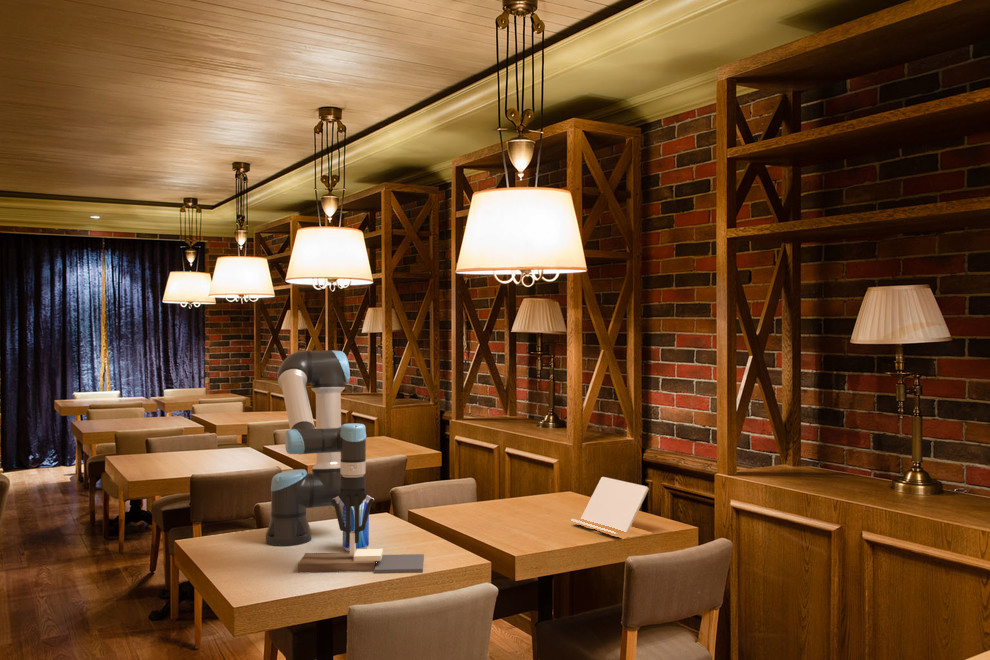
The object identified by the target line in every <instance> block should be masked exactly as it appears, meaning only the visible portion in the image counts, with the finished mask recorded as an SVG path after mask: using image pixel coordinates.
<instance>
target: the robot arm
mask: <svg viewBox="0 0 990 660" xmlns="http://www.w3.org/2000/svg"><path fill="white" fill-rule="evenodd" d="M350 376H351V372H350V365H349V360H348V357H347V355H346V353H345V352H343V351H341V350H332V349H330V350H327V349H325V350H298V351H295V352H293V353H291V354H290V355H288V356H286V358H285V359H284V360H283V361H282V362H281V364H280V366H279V368H278V371H277V377H276V378H277V384H278V387H279V388H280V389H281V390H282V393H283V394H282V395H283V399H284V400H283V401H284V405H285V411H286V416H287V419H288V425H289V429H287V430H286V432H285V435H284V436H285V437H284V444H285V451H286V453H287V454H289V455H310V454H316V463H315V464H314V465H313V466H312V470H311V473H308V472H307V470H306V469H304V468H303V469H302V468H300V469H299V468H298V469H289V470H285V471H280V472H279V473H276V474H275V475H273V477H272V479H271V485H270V486H271V487H270V491H271V495H270V497H271V500H270V501H271V502H270V503H271V504H270V521H269V524H268V527H267V531H266V533H265V543H266V544H268V545H269V546H270V545H271V546H277V547H278V546H279V547H280V546H281V547H283V546H285V547H286V546H296V545H302V544H305V543H309V542H310V541H311V540H312V530H311V527H310V526H311V525H310V524H309V521H308V517H307V509H312V508H322V507H323V508H324V507H325V508H326V507H334V509H335V515H336V519H337V522H338V528H339V530H340V531H341V532H343V531H344V532H346V543H350V555H354V554H355V552H356V543H358V542H359V532H360V531H363V530H364V529H365V527H366V523H367V519H368V515H369V516H370V510H371V506H372V505H373V503H374V502H375V498H374V497H371V496H370V495H368V491H367V490H366V476H365V475H366V468H367V464H366V463H367V461H366V460H367V459H366V457H367V456H366V455H367V453H366V451H367V450H366V449H367V433H366V432H367V430H366V425H365V424H364V423H352V422H351V423H344V424H342V410H341V409H342V401H341V400H342V398H341V397H342V395H341V394H342V393H343V391H344V390H345V389H346V384H348V383H349V382H350V378H351V377H350ZM306 385H310V388H311V391H312V392H314V393H315V420H314V418H313V413H312V409H311V405H310V404H311V403H310V400H309V394H308V391H307V386H306ZM314 421H315V422H314ZM364 499H366V503H367V506H366V509H365V513H364V517H363V521H362V525H361V526H360V505H361V504H362V502H363V501H364ZM344 505H345V506H346V526H345V525H344V520H343V511H342V509H341V508H342V507H341V506H344ZM351 506H354V509H355V531H351Z"/></svg>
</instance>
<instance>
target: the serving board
mask: <svg viewBox="0 0 990 660" xmlns="http://www.w3.org/2000/svg"><path fill="white" fill-rule="evenodd" d="M303 554H304V555H303V556H302V557H301V559H300V561H299V562H298V563H297V573H298V572H311V573H340V572H339V571H362V572H374V570H375V566H376V562H377V561H354V555H350V552H348V551H345V552H344V551H343V552H341V551H340V552H305V553H303ZM329 571H331V572H329ZM337 571H338V572H337Z"/></svg>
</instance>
